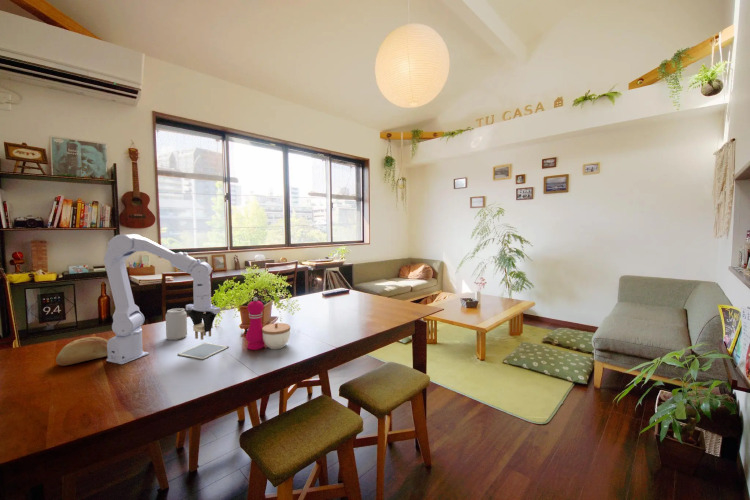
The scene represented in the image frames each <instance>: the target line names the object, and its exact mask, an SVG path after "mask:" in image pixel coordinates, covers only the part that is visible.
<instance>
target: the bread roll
mask: <svg viewBox="0 0 750 500" xmlns="http://www.w3.org/2000/svg"><path fill="white" fill-rule="evenodd" d="M108 340H109V339H106V338H103V337H100V336H87V337H81V338H78V339H75V340H73V341H70V342H68V344H66V345H65V346H63V347H62V349H61V350H60V351H59V353H58V354H57V356H56V358H55V361H56V364H57V365H58V366H63V367H64V366H69V365H70V366H71V365H74V364H79V363H83V362H86V361H90V360H94V359H100V358H104V357H108V353H107V342H108Z"/></svg>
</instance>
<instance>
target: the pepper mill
mask: <svg viewBox="0 0 750 500" xmlns="http://www.w3.org/2000/svg"><path fill="white" fill-rule="evenodd" d="M252 300H253V301H250V302H249V303H248V304H247V306H246V307H247V311H248V318H249V319H250V321H249V326H248V329H247V331H246V334H245V336H246V337H245V340H246V341H247V346H246V347H247V349H248V350H249V351H250V350H251V351H257V350H261V349H264V347H265V343H264V341H263V334H262V328H263V327H264V325H263V324H262V317H263V310H264V308H265V305H264V303H263V302H262V301H260V300H259V298H258V296H255V297H254V296H253V299H252Z"/></svg>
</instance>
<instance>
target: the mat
mask: <svg viewBox="0 0 750 500" xmlns="http://www.w3.org/2000/svg"><path fill="white" fill-rule="evenodd" d="M227 349H229V345H228V346H226V345H222V344H221V345H220V344H215V343H210V342H202V343H200V344H198V345H195V346H192V347H191V348H188V349H186V350H184V351H181V352H179V353H177V356H180V357H186V358H190V359H196V360H200V361H205V360H206V359H208V358H210V357H213V356H214V355H216V354H218V353H220V352H223V351H225V350H227Z"/></svg>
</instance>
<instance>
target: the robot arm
mask: <svg viewBox="0 0 750 500" xmlns="http://www.w3.org/2000/svg"><path fill="white" fill-rule="evenodd" d="M137 252H147V253H149V254H152V255H155V256H157V257H160V258H162V259H163V260H167V261H169V263H170V265H171V266H172V267H174V268H176V269H179V270H181V272H184V273H186V274H190V276H191V278H192V280H193V284H192V286H193V290H192V291H193V303H189V304H185V311H190V312H188V313H187V316H188V317H189V318H190V319H191V322H192V324H193V325H196V324H199V323H202V322H204V329H205V332H206V333H209V331H211V332H212V329H213V328H212V324H213V323H214V322H215V321H214V320H215V318H216V316H217V315H218V314H220V313H221V308H220V307H219V306H218V307H217V306H215V305H214V304H212V290H211V289H212V287H211V285H212V284H211V273H212V272H213V269H212V266H211V265H210V264H209V263H208V262H207V261H201V259H200V258H198V259H196V258H194V257H192V256H190V255H189V253H188V252H187V251H186V252H185V251H184V252H182V251H179V252H174V251H172V250H170V249H169V248H166V247H164V246H162V245H161V244H159V243H157V242H155V241H153V240H151V239H149V238H147V237H144V236H141V235H140V234H137V233H129V234H128V233H127V234H117V235H115V236H113V237H112V238H111V239H110V240H109V241H107V249H106V252H105V254H104V256H103V257H104V258H103V261H104V266H105V271H106V274H107V275H106V276H107V278H108V282H109V285H110V291H111V295H112V299H113V303H114V307H115V309H114V313H112V314H113V315H112V321H113V322H112V323H111V329H112V332H113V333H114V334H115V336H113V337H110V338H109V339H107V340H108V342H107V353H108V356H107V358H106V362H109V363H114V364H118V365H124V364H126V363H129V362H133V361H134V360H137V359H139V358H142V357H144V356H148V355H149V354H150V352H148V351H144V346H143V329H142V326H143V324H144V323H145V321H146V320H145V316H144V314H143V313H142V312H141V311H140V306H138V305H137V304H135V300H134V296H133V292H132V287H131V282H130V278H129V275H128V270H127V267H126V260H128V259H129V258H130V257H131V256H132V255H133V254H135V253H137ZM211 328H212V329H211Z"/></svg>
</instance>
